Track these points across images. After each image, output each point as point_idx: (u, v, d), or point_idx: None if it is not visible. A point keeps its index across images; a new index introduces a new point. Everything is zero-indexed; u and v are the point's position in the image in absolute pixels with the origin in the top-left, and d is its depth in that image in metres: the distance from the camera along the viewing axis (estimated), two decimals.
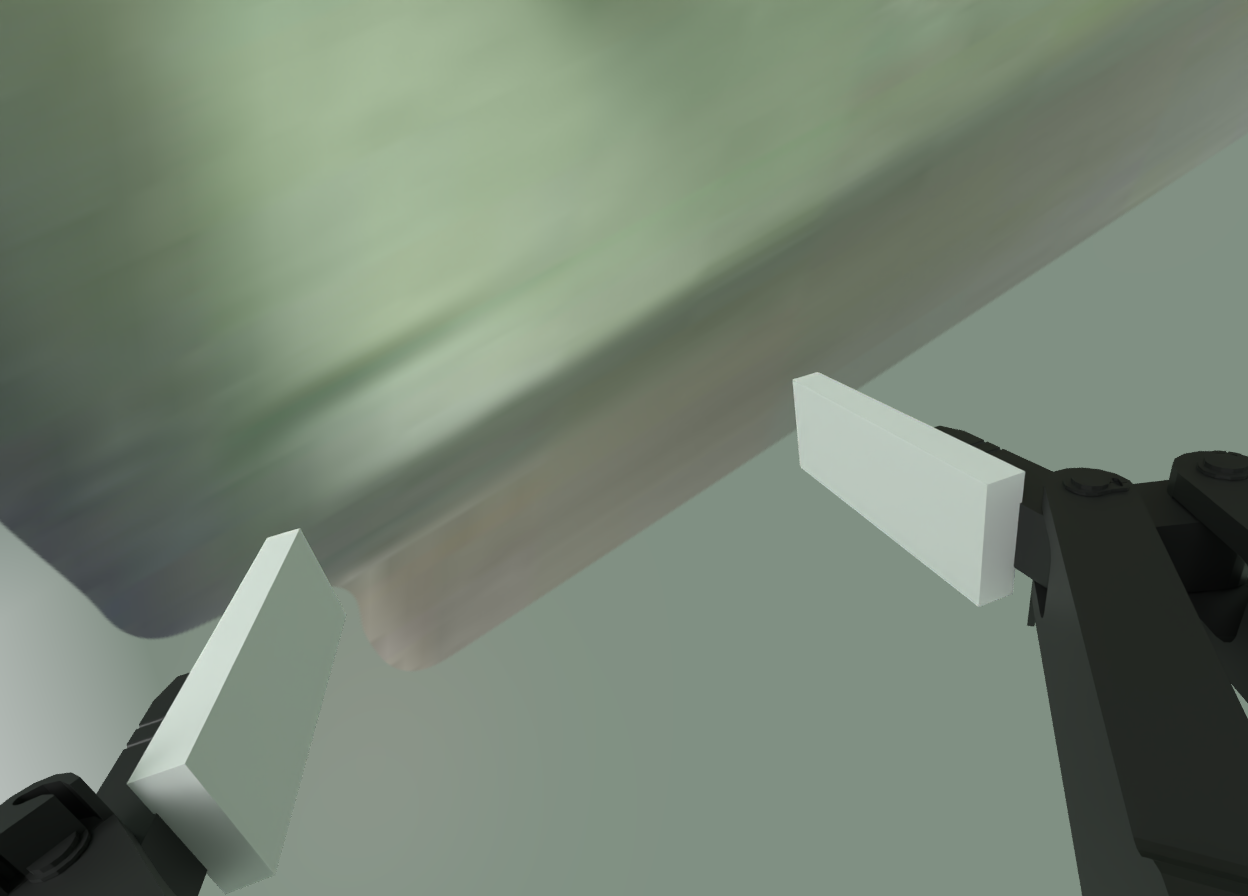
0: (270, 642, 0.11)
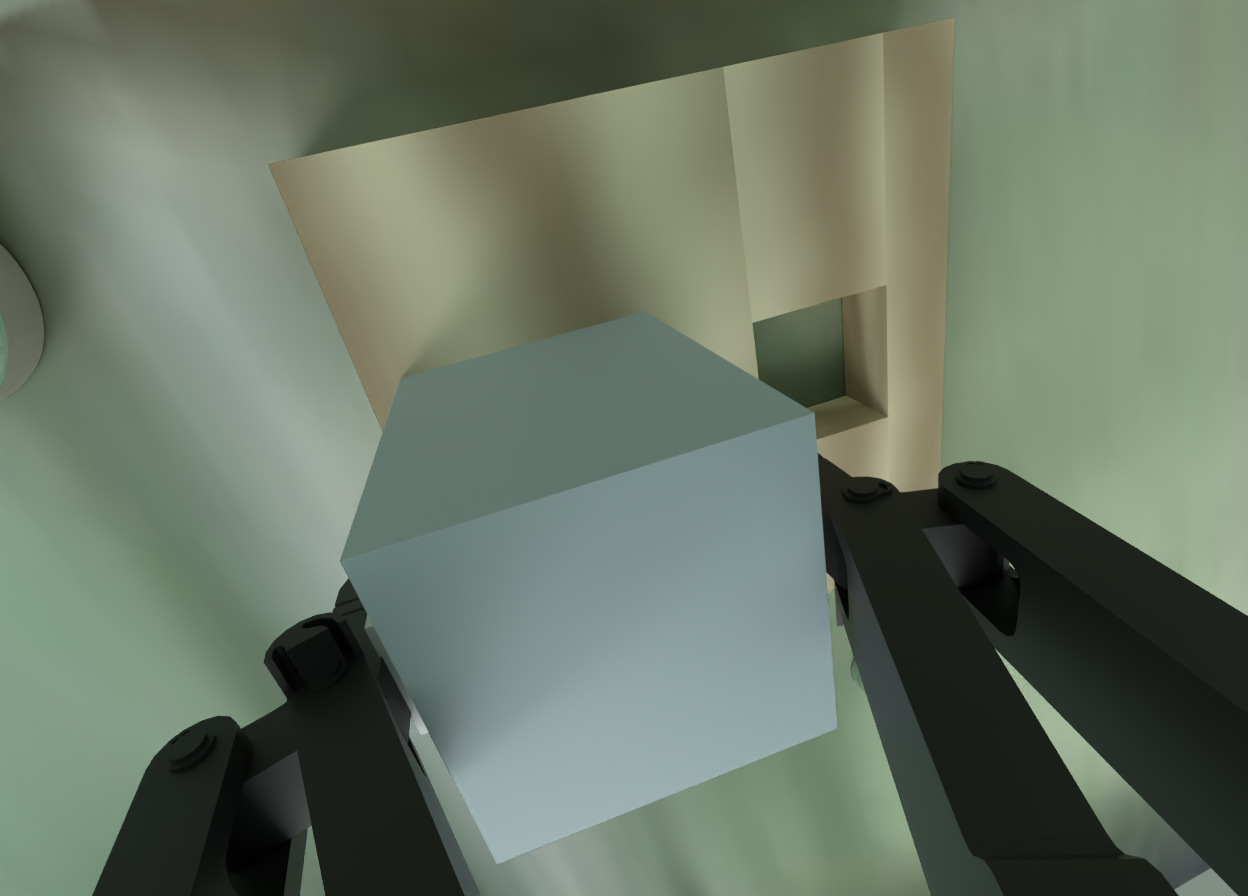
0: None
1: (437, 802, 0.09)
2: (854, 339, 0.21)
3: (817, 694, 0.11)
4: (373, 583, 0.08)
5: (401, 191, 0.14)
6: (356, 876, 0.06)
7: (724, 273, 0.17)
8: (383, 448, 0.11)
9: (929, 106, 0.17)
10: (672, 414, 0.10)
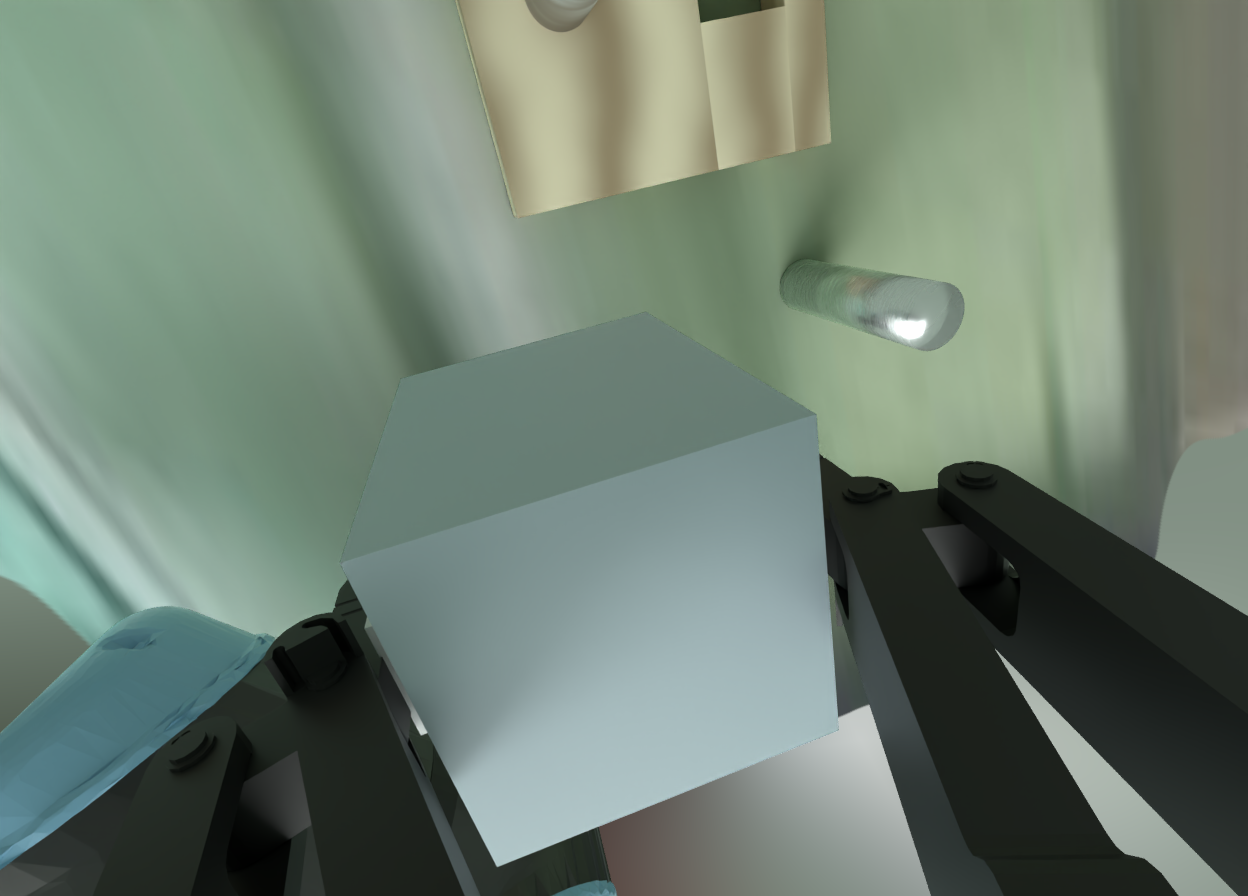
0: None
1: (437, 802, 0.09)
2: None
3: (818, 695, 0.11)
4: (373, 585, 0.08)
5: None
6: (356, 876, 0.06)
7: None
8: (383, 449, 0.11)
9: None
10: (673, 415, 0.10)
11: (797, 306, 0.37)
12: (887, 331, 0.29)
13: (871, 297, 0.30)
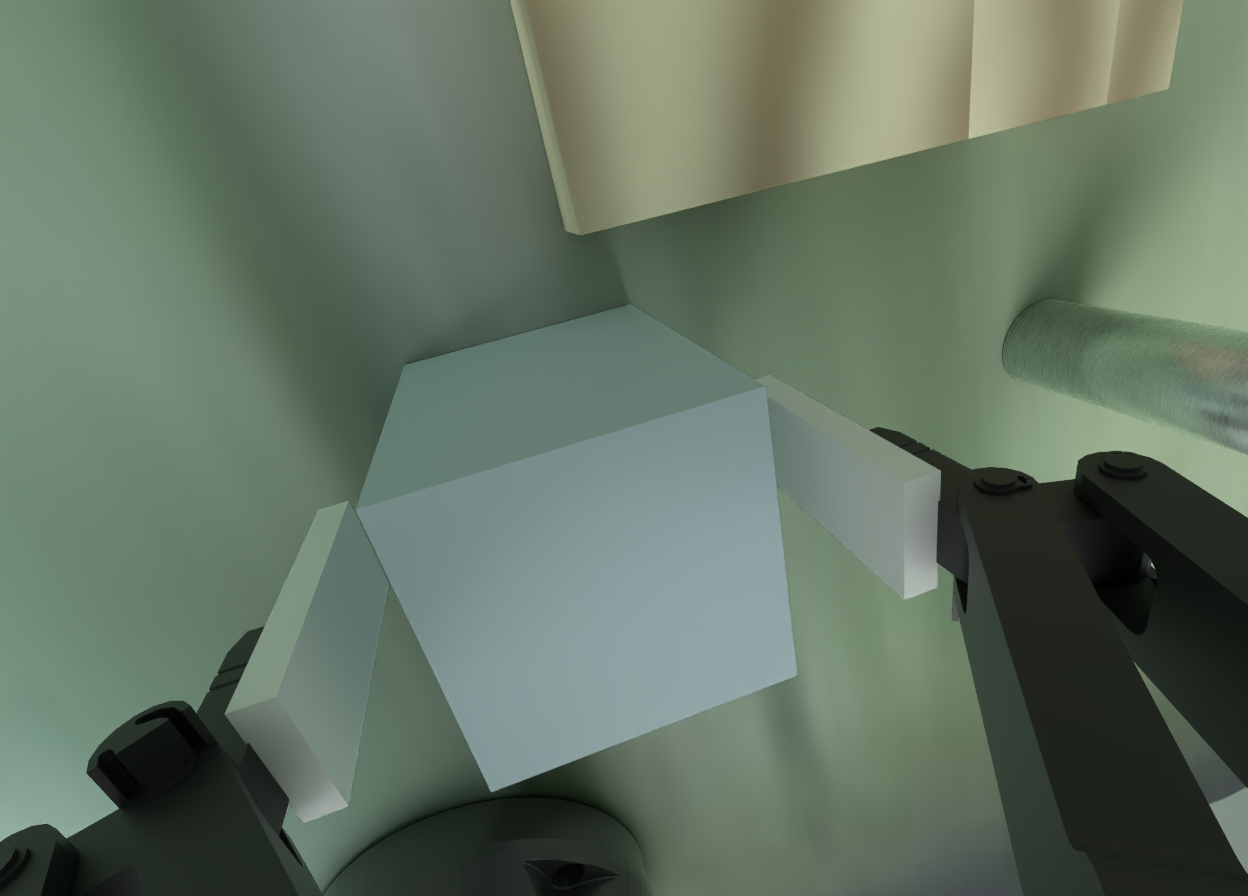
0: (332, 600, 0.12)
1: (318, 892, 0.08)
2: None
3: (777, 643, 0.13)
4: (383, 530, 0.09)
5: None
6: None
7: None
8: (389, 423, 0.13)
9: None
10: (645, 389, 0.11)
11: (1044, 382, 0.21)
12: None
13: None
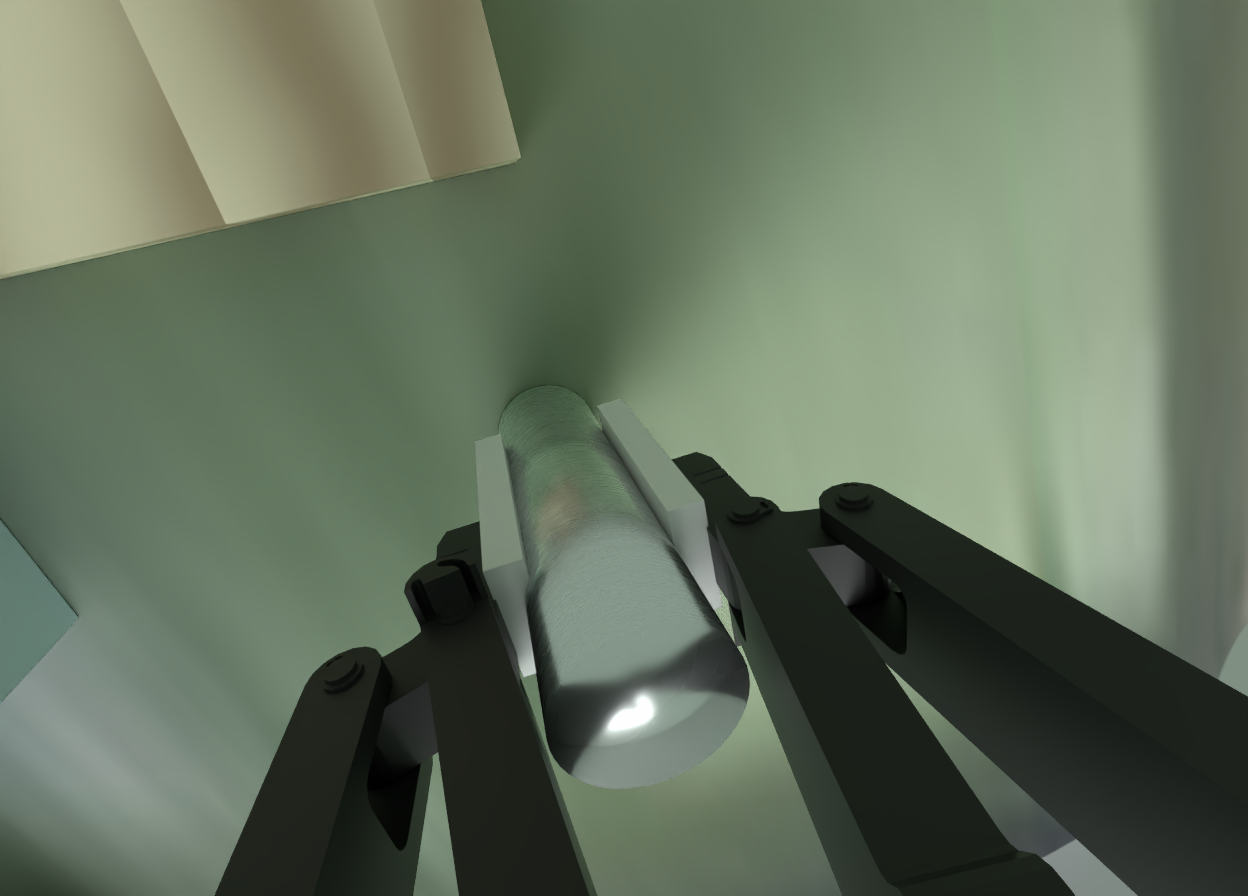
0: None
1: (543, 744, 0.10)
2: None
3: None
4: None
5: None
6: (473, 798, 0.07)
7: None
8: None
9: None
10: None
11: None
12: None
13: (530, 584, 0.11)
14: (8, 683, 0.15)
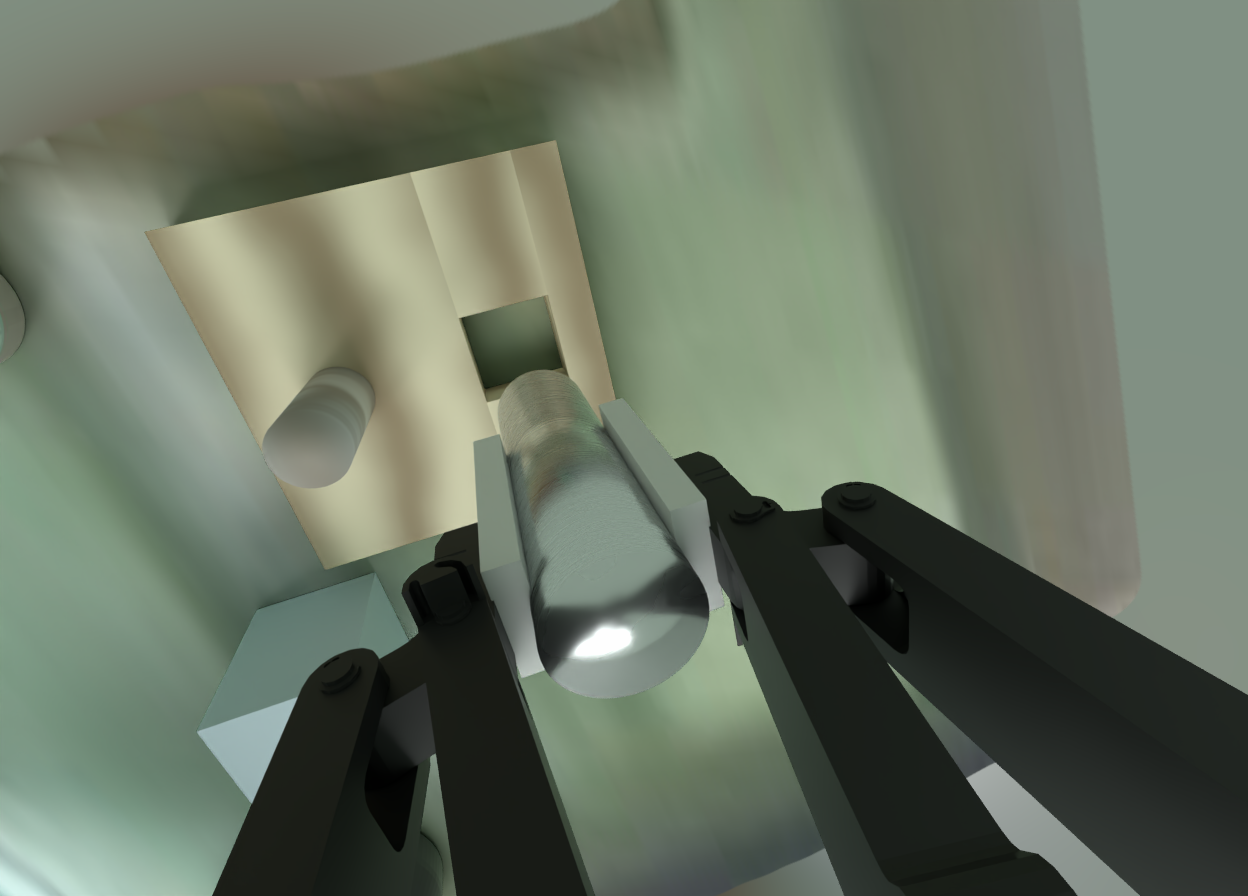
0: (515, 507, 0.14)
1: (541, 745, 0.10)
2: (553, 329, 0.32)
3: None
4: (207, 736, 0.27)
5: (222, 244, 0.26)
6: (471, 799, 0.07)
7: (433, 288, 0.28)
8: (228, 670, 0.30)
9: (551, 189, 0.28)
10: None
11: None
12: None
13: (524, 532, 0.13)
14: None
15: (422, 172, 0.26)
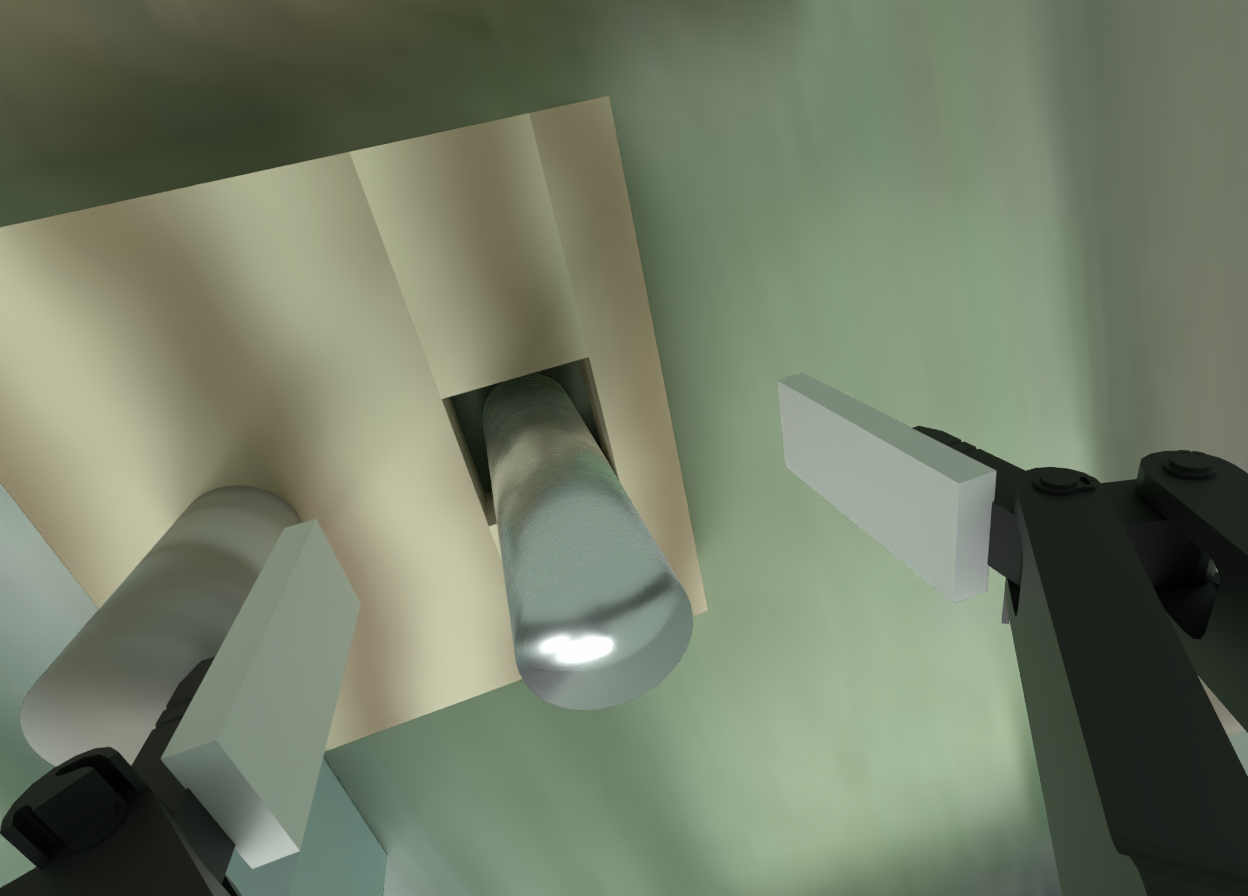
0: (291, 627, 0.11)
1: None
2: (592, 403, 0.21)
3: None
4: None
5: None
6: None
7: (397, 352, 0.17)
8: None
9: (599, 182, 0.16)
10: None
11: None
12: None
13: (505, 540, 0.12)
14: None
15: (372, 151, 0.15)
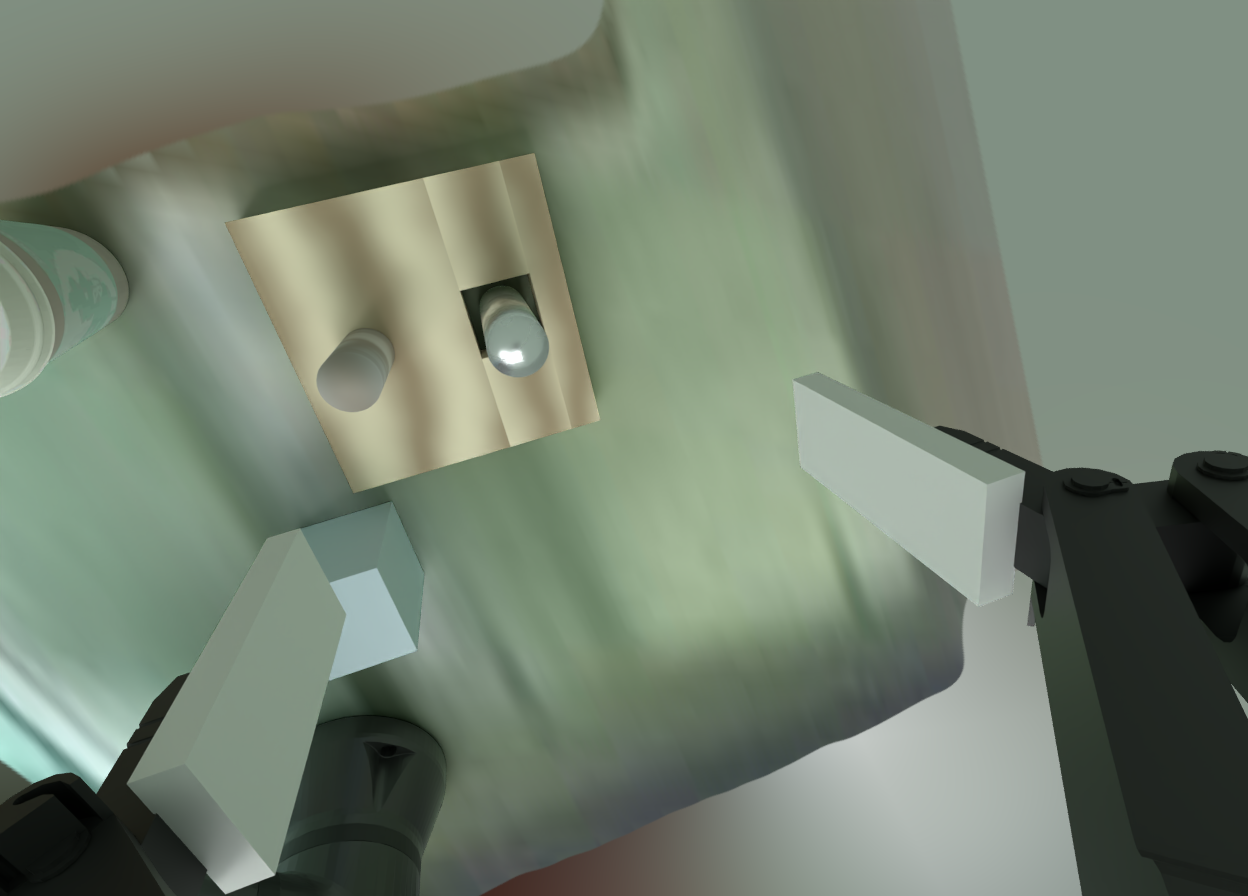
0: (270, 642, 0.11)
1: None
2: (535, 302, 0.41)
3: (405, 639, 0.39)
4: None
5: (281, 232, 0.34)
6: None
7: (440, 267, 0.37)
8: None
9: (531, 190, 0.36)
10: (351, 563, 0.37)
11: None
12: None
13: (485, 327, 0.32)
14: (421, 594, 0.45)
15: (432, 177, 0.35)
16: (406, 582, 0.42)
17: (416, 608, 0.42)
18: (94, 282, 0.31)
